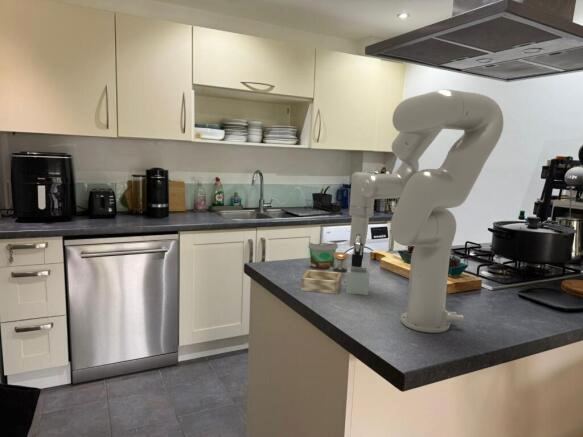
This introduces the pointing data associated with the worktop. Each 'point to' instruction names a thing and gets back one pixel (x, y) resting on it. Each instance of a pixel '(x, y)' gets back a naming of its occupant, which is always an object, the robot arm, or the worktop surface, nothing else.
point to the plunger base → (343, 275)
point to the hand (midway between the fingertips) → (357, 262)
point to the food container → (322, 255)
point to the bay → (321, 281)
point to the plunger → (340, 261)
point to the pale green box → (357, 280)
